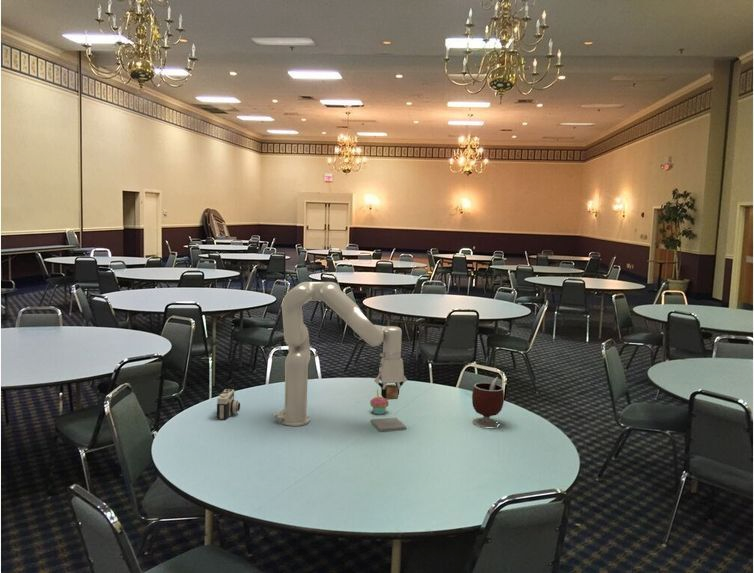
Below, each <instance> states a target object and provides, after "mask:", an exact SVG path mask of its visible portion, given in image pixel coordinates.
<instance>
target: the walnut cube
mask: <svg viewBox="0 0 754 573" xmlns="http://www.w3.org/2000/svg"><path fill="white" fill-rule="evenodd" d="M385 389H386V398H385V399H386V400H388V401H389V400H398V398H399V395H398V387H397V386H396V385H395V383H393V384H386V387H385Z"/></svg>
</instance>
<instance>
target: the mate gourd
mask: <svg viewBox="0 0 754 573" xmlns="http://www.w3.org/2000/svg"><path fill="white" fill-rule="evenodd" d="M498 379H499V376H496V377H495V378H494V379H493V380H492V381H491V383H490V382H476V383H474V385H473V389H472V395H471V396H472V397H471V402H472V408H473V410H474V411H475V412H476V413H477V414H479V415H480V416H482V417H476V418H473V419H472V422H471V423H472V424H473V425H474V424H475V425H477V426H480V427H479V428H481V427H497V425H498V424H499V423H500V421H498V420H495V419H493V418H490V417H494V416H498V415H499V413H500V412H501V411H502V410H503V406H504V402H505V401H504V400H505V393H504V392H505V391H504V386H502V385H500V384H497V381H498ZM497 421H498V423H496V422H497ZM475 425H474V426H475ZM477 426H476V427H477Z"/></svg>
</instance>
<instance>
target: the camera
mask: <svg viewBox="0 0 754 573" xmlns="http://www.w3.org/2000/svg"><path fill="white" fill-rule="evenodd" d="M240 409H241V402H239V400H236V399H235V389H232V388H226V389H224V390H223V391H222V392H221V393H220V394H219V396H218V397H217V402H216V420H218V421H227V420H228V418H230V417H231V415H232V414H235V413H236V414H237V412H240Z"/></svg>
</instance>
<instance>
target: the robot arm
mask: <svg viewBox="0 0 754 573" xmlns="http://www.w3.org/2000/svg"><path fill="white" fill-rule="evenodd" d="M309 302H324V304H326V305H327V306H328V307H329V308H330V309H331V310H332V311H333V312H335V314H337V316H339V318H341V319H342V320H343V321H344V322H345V324H347V325H348V326H349V327H350V328H351V329H352V330H353V331H354V333H356V334H357V335H358V336H359V337H360V338H361V339H362V340H363V341H364V342H365V343H367V344H368V345H370V346H372V347H378V346H380V345H381V344H382V343H383V348H382V349H383V350H382V353H380V354H379V356H380V357H382V358H381V359H380V363H379V367H378V368H379V370H378V375H377V376H376V377H375V378H374V380H373V382H374V383H376V385H378V387H380V388H381V389H380V393H381V394H380V397H383V398H386V389H385V387H386V385H388V384H392V383H393V384H394V385H395V386H397V387H398V396H399V395H400V388H401V387H402V386H403V385H404V384H405V383H406V382H407V381H408V379H407V377H406V376H405V373H404V372H405V371H404V361H403V358H401V354H402V335H403V334H402V333H403V332H402V328H400V327H399V326H395V325H394V326H393V325H390V326H389V325H388V326H386V325H385V326H383V325H378V324H373V323H372V321H370V320H369V318H367V317H366V316H365V314H364V313H363V311H362V310H361V308H360V307H359V305H358V304H357V303H356V302H354V301H353V299H351V298H350V297H349V296H348V295H347V294H346V293H345V292H344V291H342V290H341V287H340V285H339V284H338V283H337V282H333V281H303V282H300V283H298V284H296V285H295V286H294V287H292V288H291V289H290V290H289V291H287V293H286V294H285V295H284V297H283V299H282V303H281V314H282V326H283V339H284V342H285V343H286V345H287V347H288V354H286V357H285V360H284V377H285V378H284V406H283V407H284V408H283V410H282V411H280V412H274V413H272V414H273V415H272V417H273V418H274V419H279V421H280V423H281V424H283V425H285V426H291V427H299V426H305V425H308V424H310V422H311V418H310V416H308V415H307V409H308V407H307V405H308V404H307V403H308V377H309V376H308V374H309V372H308V369H309V368H308V367H309V363H310V361H311V347H310V346H311V345H310V334H309V329H308V327H307V325H306V324H305V323H304V314H303V306H304V305H305V304H308V303H309ZM380 381H381V382H380Z"/></svg>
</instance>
